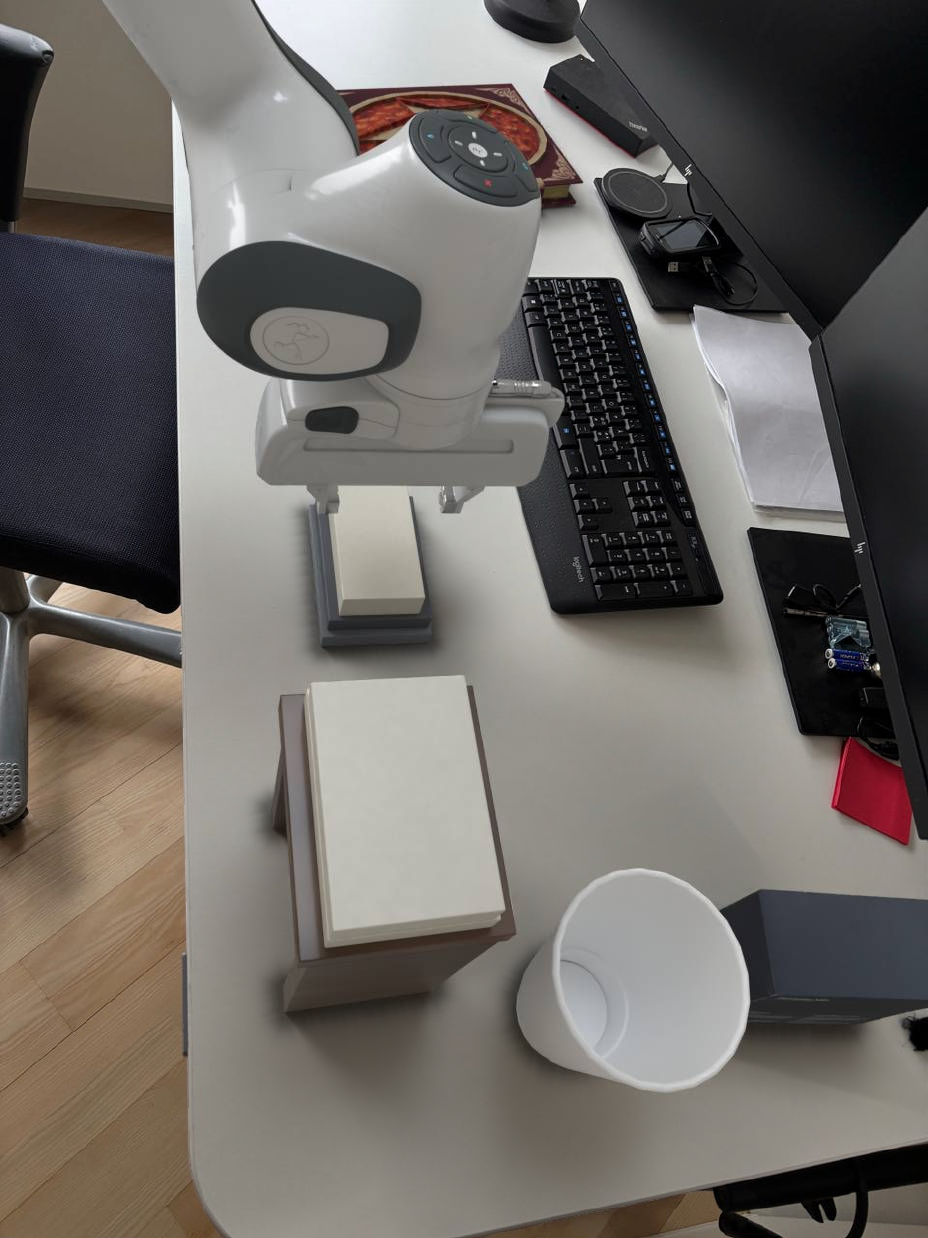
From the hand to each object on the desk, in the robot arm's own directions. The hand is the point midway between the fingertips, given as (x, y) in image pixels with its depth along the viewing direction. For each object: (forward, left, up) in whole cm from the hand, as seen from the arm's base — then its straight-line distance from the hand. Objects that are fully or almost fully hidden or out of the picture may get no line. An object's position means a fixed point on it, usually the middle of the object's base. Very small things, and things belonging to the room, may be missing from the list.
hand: (388, 506), depth 70 cm
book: (-38, +46, -11) cm, 61 cm away
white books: (+19, -19, +10) cm, 29 cm away
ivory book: (0, 0, -7) cm, 7 cm away
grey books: (0, 0, -10) cm, 10 cm away
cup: (+35, -13, -11) cm, 39 cm away
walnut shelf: (+19, -19, -10) cm, 29 cm away
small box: (+44, 0, -11) cm, 46 cm away
